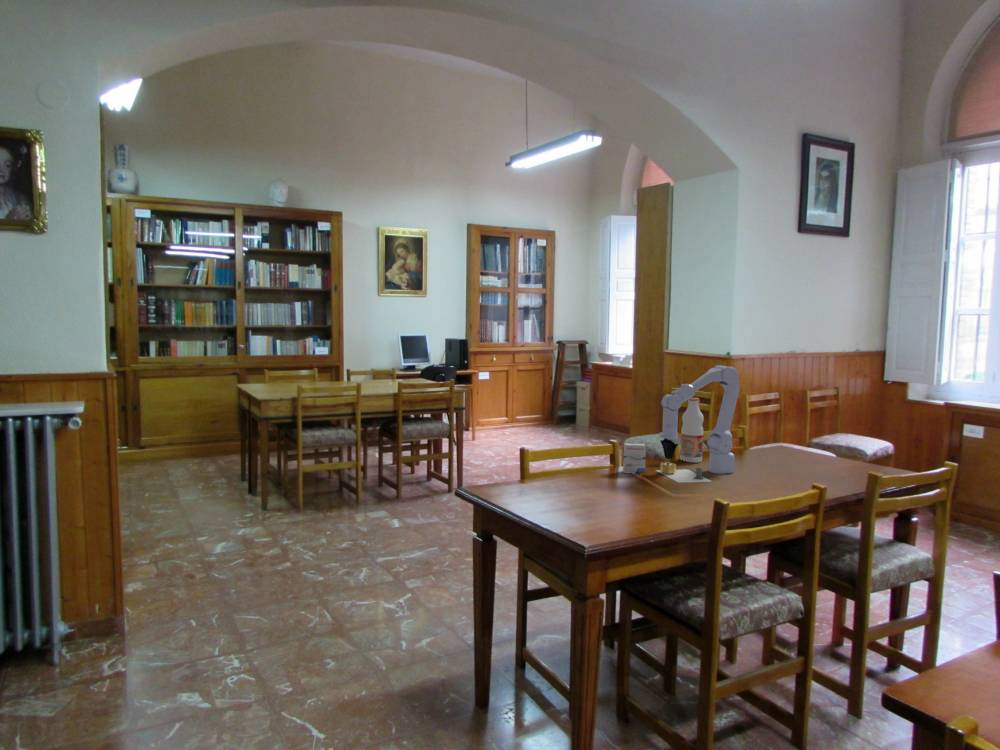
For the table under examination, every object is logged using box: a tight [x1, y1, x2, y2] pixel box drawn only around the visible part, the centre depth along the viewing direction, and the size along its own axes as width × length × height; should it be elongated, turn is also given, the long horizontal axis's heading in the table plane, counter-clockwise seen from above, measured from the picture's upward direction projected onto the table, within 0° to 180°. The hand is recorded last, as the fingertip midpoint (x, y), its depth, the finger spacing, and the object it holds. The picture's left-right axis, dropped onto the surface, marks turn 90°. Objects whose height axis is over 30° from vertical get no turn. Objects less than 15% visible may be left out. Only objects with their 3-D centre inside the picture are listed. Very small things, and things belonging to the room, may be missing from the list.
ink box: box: [622, 442, 647, 475], centre depth 269 cm, size 8×5×12 cm, turn 84°
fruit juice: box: [679, 397, 704, 463], centre depth 294 cm, size 9×9×28 cm
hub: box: [662, 461, 674, 475], centre depth 266 cm, size 5×5×4 cm
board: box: [655, 467, 713, 483], centre depth 262 cm, size 14×20×5 cm
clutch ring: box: [659, 462, 677, 473], centre depth 266 cm, size 6×6×3 cm
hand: (668, 458), depth 265 cm, fingers closed
